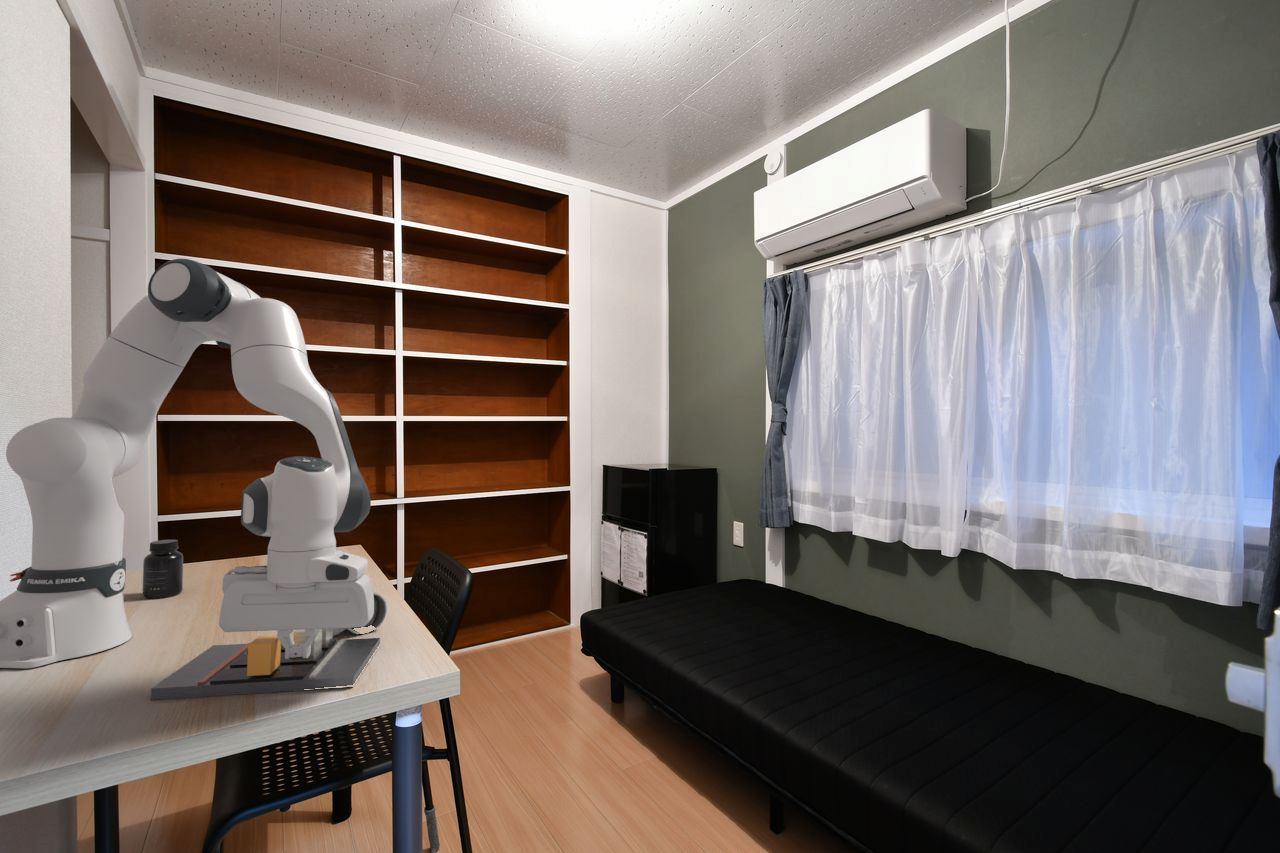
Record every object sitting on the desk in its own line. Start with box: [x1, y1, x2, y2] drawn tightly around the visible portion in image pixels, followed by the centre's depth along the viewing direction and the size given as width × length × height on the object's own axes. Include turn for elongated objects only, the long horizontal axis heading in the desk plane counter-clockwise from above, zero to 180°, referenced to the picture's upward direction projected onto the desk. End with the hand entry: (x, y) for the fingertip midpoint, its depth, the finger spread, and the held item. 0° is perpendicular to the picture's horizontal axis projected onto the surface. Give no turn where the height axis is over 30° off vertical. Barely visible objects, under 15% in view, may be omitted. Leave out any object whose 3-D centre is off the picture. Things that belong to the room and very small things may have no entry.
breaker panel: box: [150, 628, 381, 701], centre depth 88 cm, size 26×16×6 cm, turn 102°
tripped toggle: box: [247, 635, 281, 676], centre depth 83 cm, size 3×4×4 cm
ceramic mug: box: [333, 591, 388, 637], centre depth 106 cm, size 11×8×8 cm
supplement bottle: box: [142, 539, 184, 600], centre depth 124 cm, size 7×7×12 cm
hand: (297, 657), depth 84 cm, fingers closed
